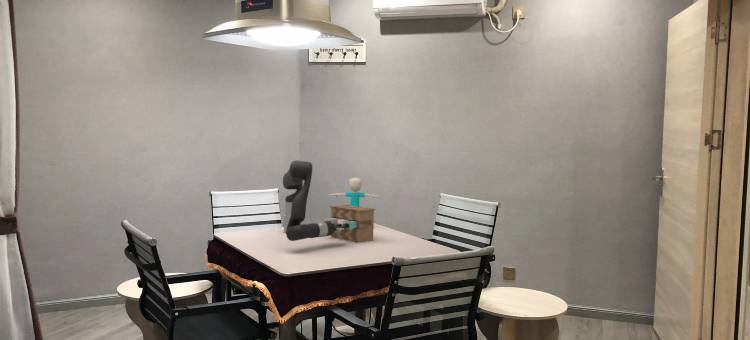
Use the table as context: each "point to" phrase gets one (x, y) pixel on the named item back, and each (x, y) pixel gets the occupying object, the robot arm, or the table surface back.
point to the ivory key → (342, 221)
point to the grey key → (332, 220)
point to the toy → (354, 186)
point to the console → (354, 214)
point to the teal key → (352, 224)
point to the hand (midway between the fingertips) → (347, 225)
